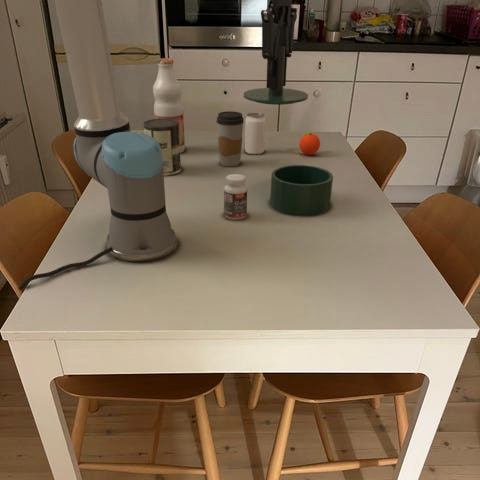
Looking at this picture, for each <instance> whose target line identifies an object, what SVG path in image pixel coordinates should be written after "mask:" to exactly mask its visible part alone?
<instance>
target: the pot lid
mask: <svg viewBox="0 0 480 480" xmlns="http://www.w3.org/2000/svg"><path fill="white" fill-rule="evenodd" d="M276 60H278V81H277V89H272V88H266V87H261V88H253V89H249V90H246V91H244V92H243V98H244V99H245V100H248V101H250V102H255V103H257V104H263V105H272V106H273V105H274V106H275V105H277V106H278V105H279V106H281V105H282V106H283V105H292V104H297V103H301V102H304V101H307V100H308V99H309V94H308V93H307V92H305V91H304V90H303V91H302V90H299V89H294V88H293V89H292V88H284V86H283V81H284V63H285V46H283V45H278V51H277V58H276Z"/></svg>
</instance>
